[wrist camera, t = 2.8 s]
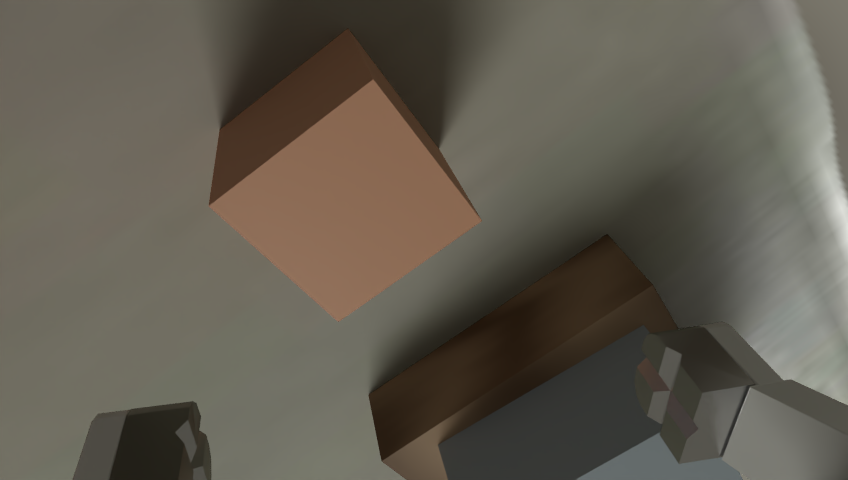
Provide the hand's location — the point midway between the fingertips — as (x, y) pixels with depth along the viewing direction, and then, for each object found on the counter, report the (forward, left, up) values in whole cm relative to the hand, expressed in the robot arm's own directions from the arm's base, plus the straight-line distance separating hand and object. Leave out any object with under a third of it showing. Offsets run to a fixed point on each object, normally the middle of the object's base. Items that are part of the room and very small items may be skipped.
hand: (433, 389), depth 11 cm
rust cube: (0, +1, -11) cm, 11 cm away
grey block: (0, -15, -8) cm, 17 cm away
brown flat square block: (-1, -15, -12) cm, 19 cm away
